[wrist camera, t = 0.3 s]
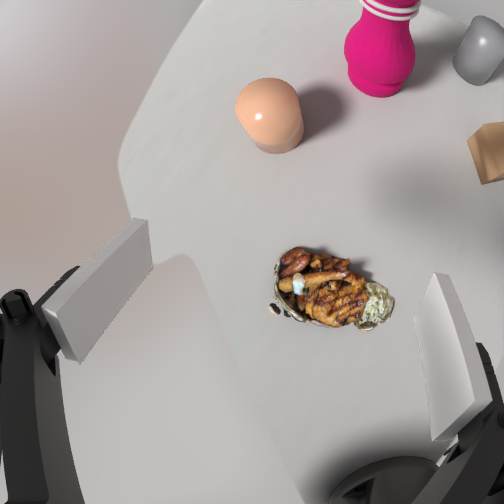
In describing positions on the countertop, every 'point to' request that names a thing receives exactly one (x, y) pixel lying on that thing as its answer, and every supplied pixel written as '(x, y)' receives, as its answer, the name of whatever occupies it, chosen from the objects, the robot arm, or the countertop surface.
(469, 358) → the robot arm
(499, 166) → the tan block
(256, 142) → the peach rounded cylinder
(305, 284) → the brown lumpy mound
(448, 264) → the countertop surface
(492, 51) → the grey cylinder
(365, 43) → the pepper mill
